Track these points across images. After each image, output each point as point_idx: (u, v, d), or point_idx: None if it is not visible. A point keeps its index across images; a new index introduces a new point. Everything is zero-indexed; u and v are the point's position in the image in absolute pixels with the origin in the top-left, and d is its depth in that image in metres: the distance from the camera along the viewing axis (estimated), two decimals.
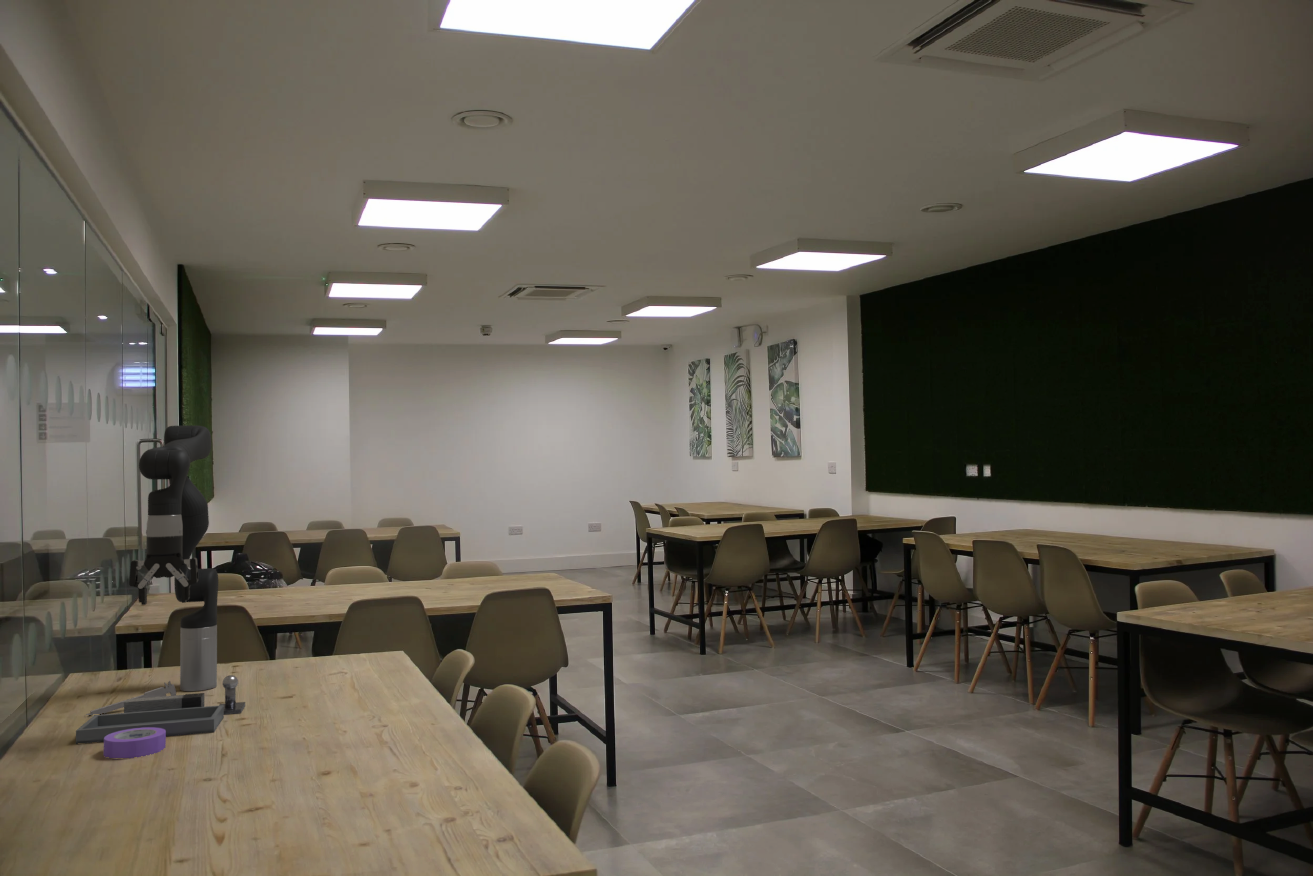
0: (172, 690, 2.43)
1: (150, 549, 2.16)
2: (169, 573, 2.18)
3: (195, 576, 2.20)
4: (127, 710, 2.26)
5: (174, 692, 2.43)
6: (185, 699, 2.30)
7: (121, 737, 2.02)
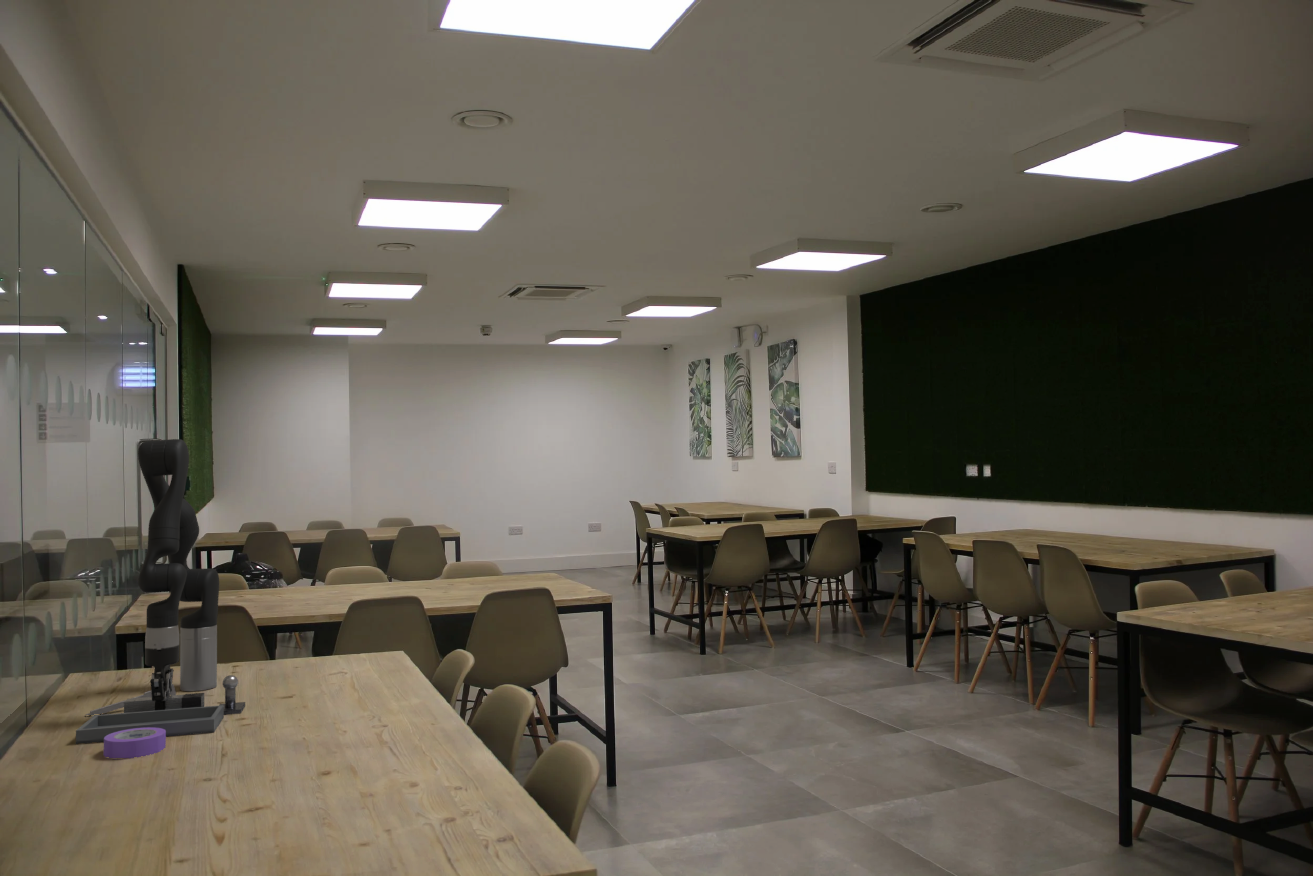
0: (172, 690, 2.42)
1: (173, 658, 2.29)
2: None
3: (171, 686, 2.35)
4: (127, 710, 2.26)
5: (174, 692, 2.43)
6: (185, 699, 2.30)
7: (121, 737, 2.02)
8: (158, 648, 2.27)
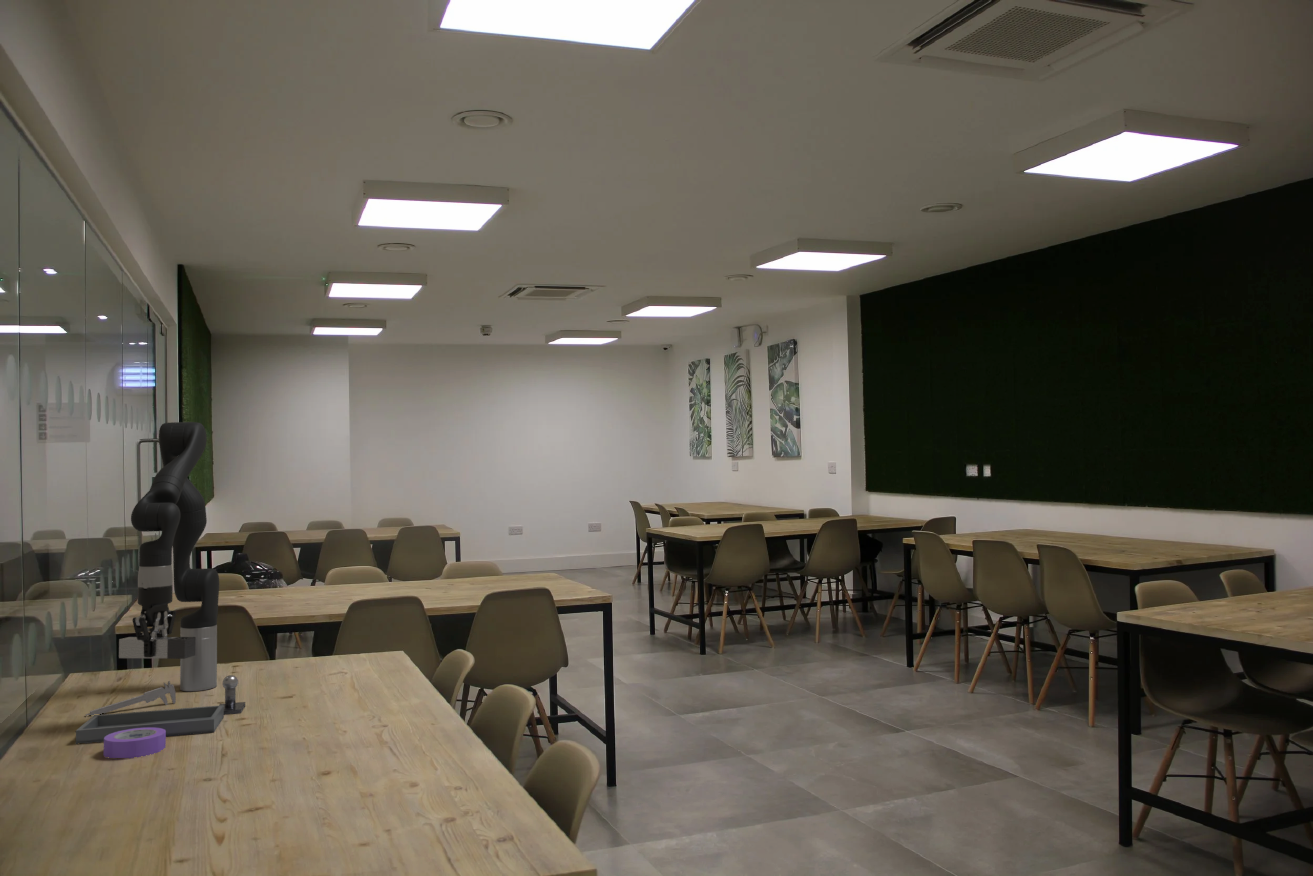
0: (171, 691, 2.42)
1: (160, 598, 2.25)
2: (162, 621, 2.28)
3: (172, 628, 2.32)
4: (121, 648, 2.26)
5: (174, 692, 2.43)
6: (170, 641, 2.24)
7: (121, 737, 2.02)
8: (145, 587, 2.24)
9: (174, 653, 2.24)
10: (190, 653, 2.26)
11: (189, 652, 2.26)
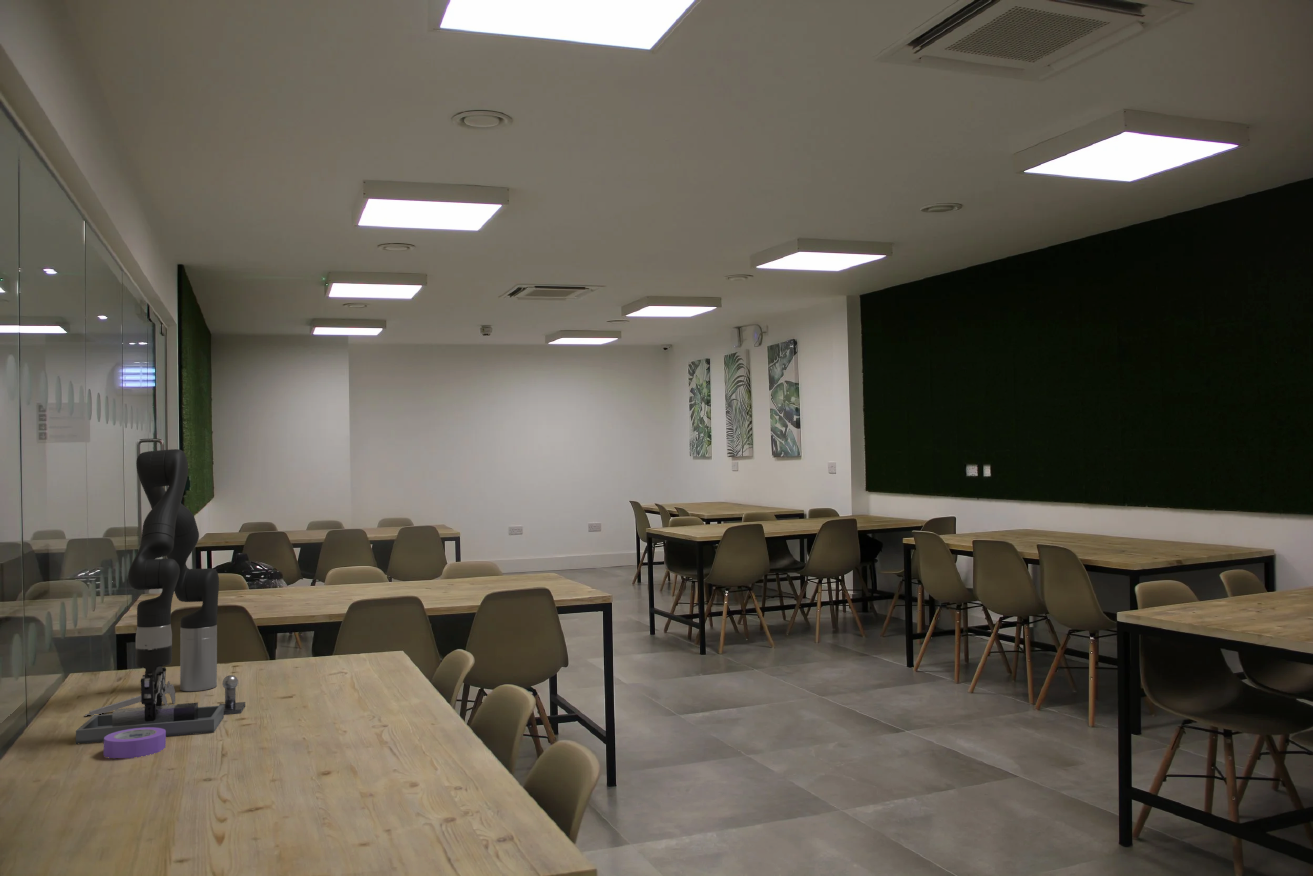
0: (171, 691, 2.42)
1: (165, 659, 2.16)
2: (160, 682, 2.19)
3: (164, 685, 2.23)
4: (115, 721, 2.13)
5: (173, 692, 2.43)
6: (177, 709, 2.17)
7: (121, 737, 2.02)
8: (149, 648, 2.14)
9: None
10: None
11: (196, 719, 2.20)
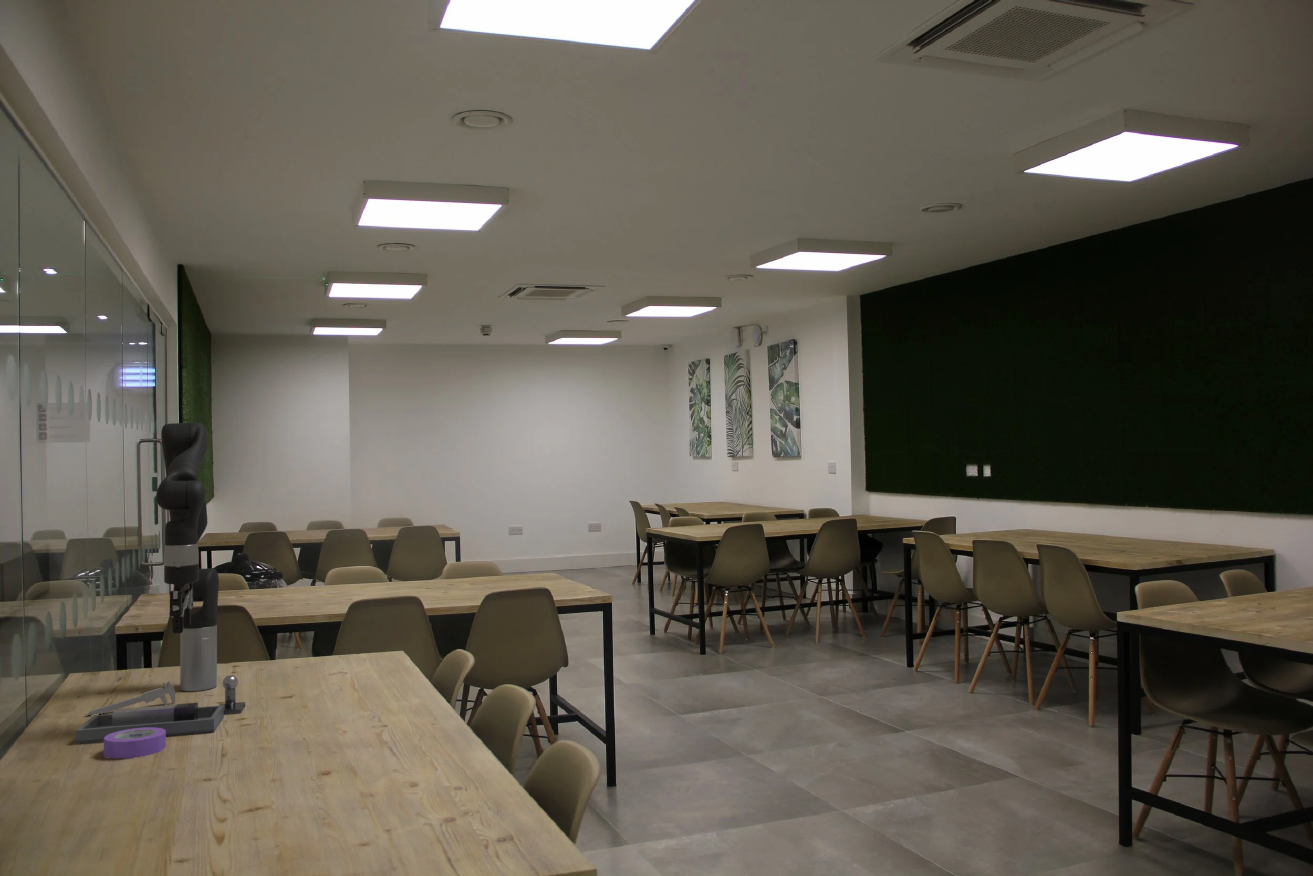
0: (171, 691, 2.42)
1: (192, 577, 2.25)
2: None
3: (192, 599, 2.33)
4: (115, 721, 2.13)
5: (173, 692, 2.42)
6: (177, 709, 2.17)
7: (121, 737, 2.02)
8: (177, 566, 2.22)
9: None
10: None
11: (196, 719, 2.20)
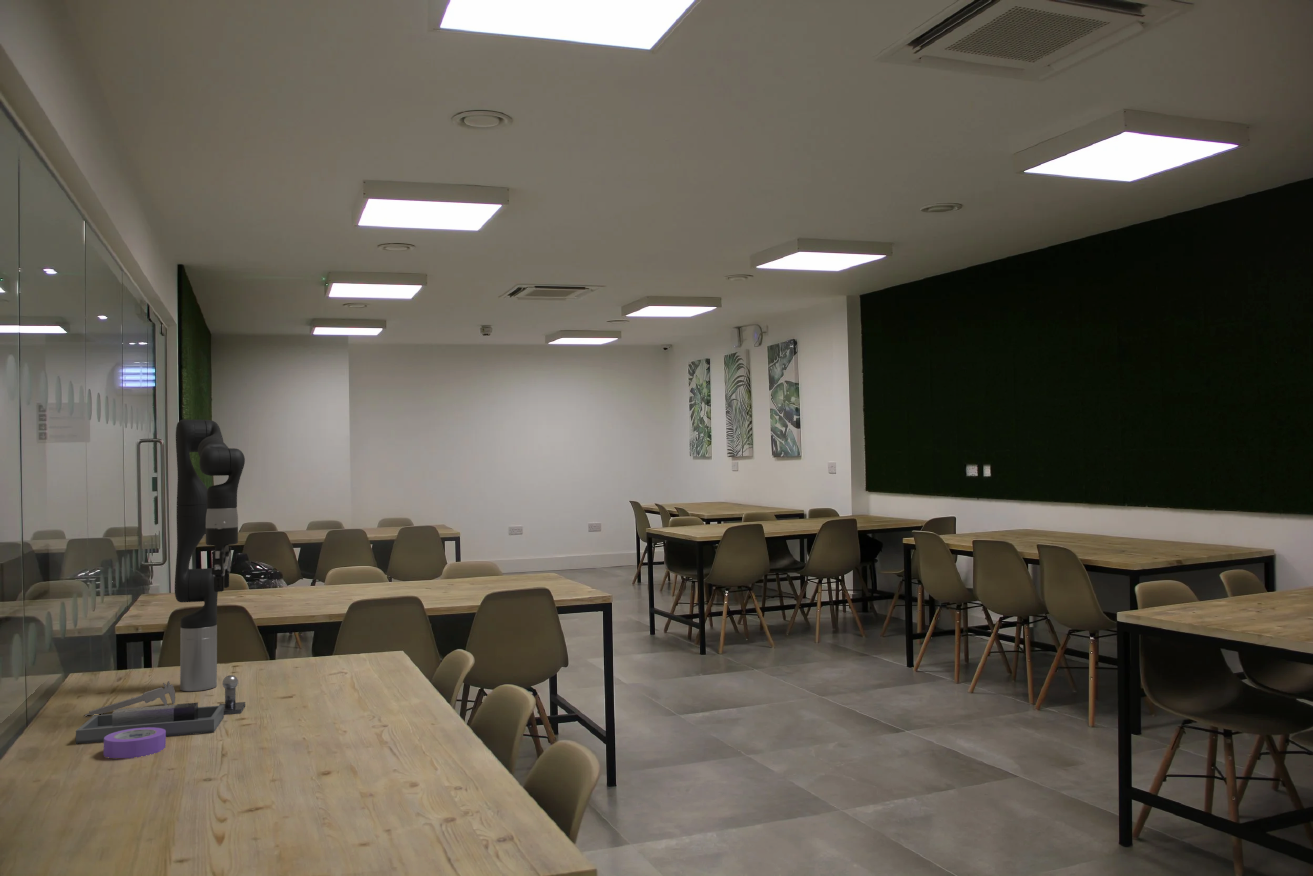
0: (171, 691, 2.42)
1: (232, 539, 2.37)
2: None
3: None
4: (115, 721, 2.13)
5: (173, 692, 2.42)
6: (177, 709, 2.17)
7: (121, 737, 2.02)
8: (219, 528, 2.35)
9: None
10: None
11: (196, 719, 2.20)
